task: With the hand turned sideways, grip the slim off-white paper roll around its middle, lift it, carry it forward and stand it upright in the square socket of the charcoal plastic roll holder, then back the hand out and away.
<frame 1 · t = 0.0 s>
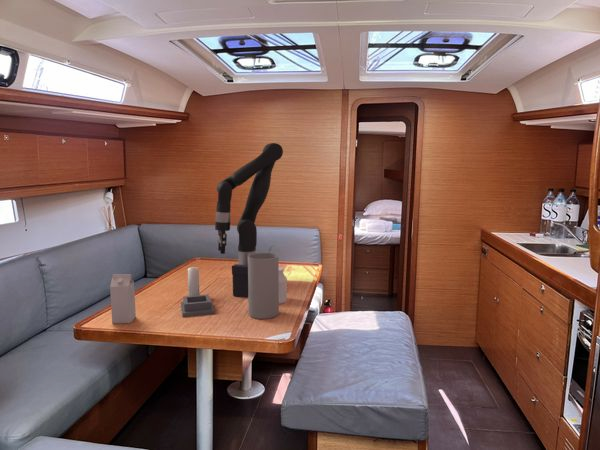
hand: (221, 252, 225), 17 cm above the table, tool pointing down, fingers open, 8 cm apart
cylinder vase: (263, 314, 183), on the table
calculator: (244, 296, 207), on the table
milk carton: (124, 320, 175), on the table
paper roll: (194, 297, 205), on the table
mate gourd: (265, 270, 257), on the table
roll holder: (197, 309, 189), on the table
jar: (274, 300, 201), on the table
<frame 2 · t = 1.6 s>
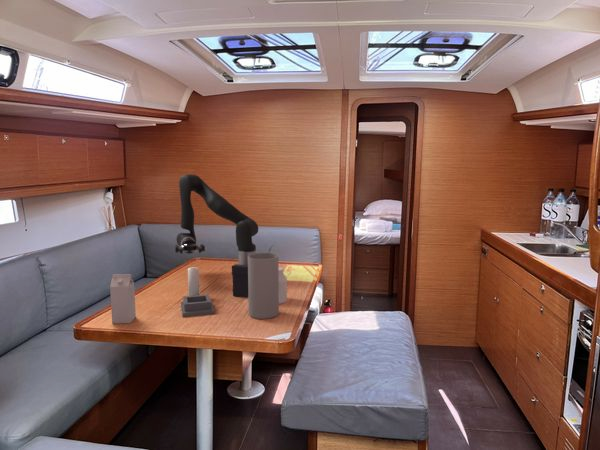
hand: (191, 251, 212), 20 cm above the table, tool horizontal, fingers open, 8 cm apart
nothing on the table moved.
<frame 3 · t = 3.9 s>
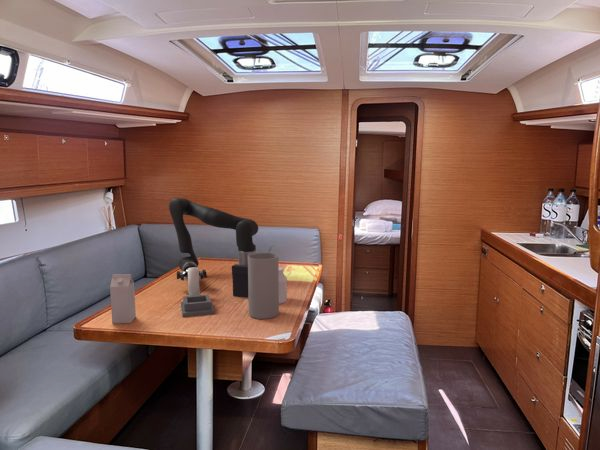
hand: (192, 277, 209), 8 cm above the table, tool horizontal, fingers open, 8 cm apart
nothing on the table moved.
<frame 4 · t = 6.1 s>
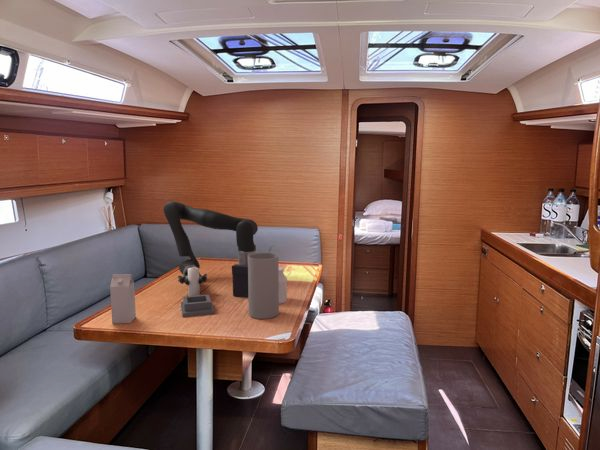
hand: (194, 282, 201), 8 cm above the table, tool horizontal, fingers closed on paper roll, 5 cm apart
paper roll: (194, 297, 205), on the table, touching gripper
everything else where it was.
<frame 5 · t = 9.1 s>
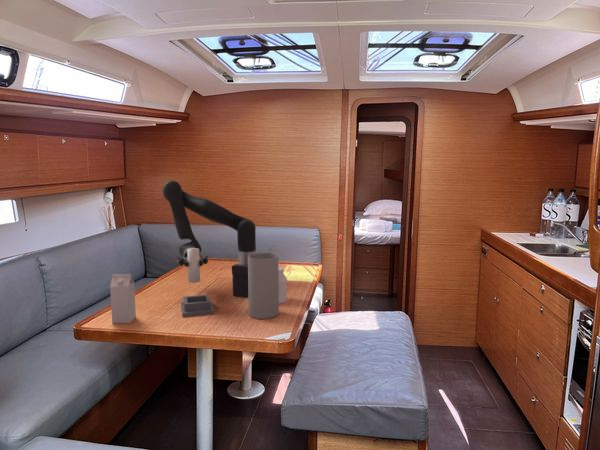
hand: (194, 264, 186), 20 cm above the table, tool horizontal, fingers closed on paper roll, 5 cm apart
paper roll: (194, 281, 189), point 12 cm above the table, touching gripper
everything else where it was.
when the fingers open (10 cm above the table, at t = 12.1 s): paper roll stays where it is, resting on roll holder.
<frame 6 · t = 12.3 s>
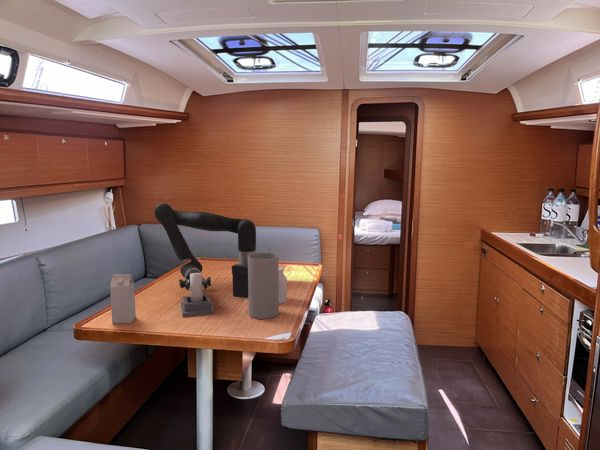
hand: (196, 287, 185), 11 cm above the table, tool horizontal, fingers open, 6 cm apart
paper roll: (196, 305, 189), point 2 cm above the table, touching roll holder
everything else where it was.
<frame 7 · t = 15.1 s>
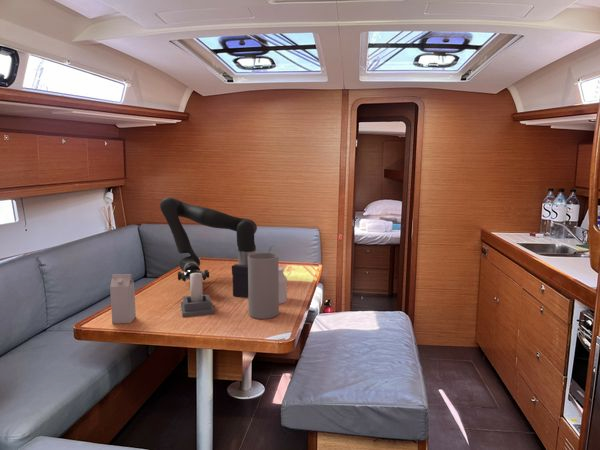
hand: (194, 278, 198), 11 cm above the table, tool horizontal, fingers open, 8 cm apart
nothing on the table moved.
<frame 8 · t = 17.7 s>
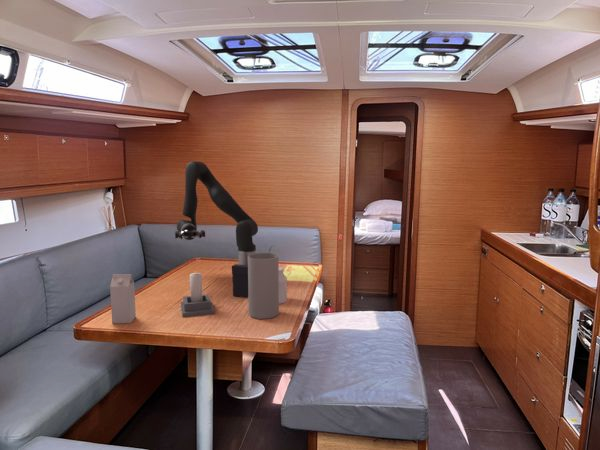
hand: (191, 236, 208), 28 cm above the table, tool horizontal, fingers open, 8 cm apart
nothing on the table moved.
at the end: paper roll 0.1 cm off-centre on the roll holder, point 1.6 cm above the roll holder's base; paper roll tilted 1°; the gripper is holding nothing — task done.
